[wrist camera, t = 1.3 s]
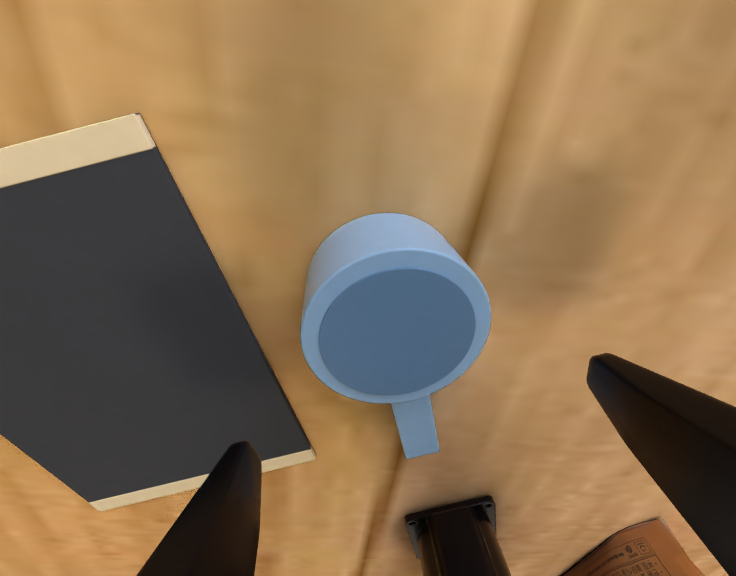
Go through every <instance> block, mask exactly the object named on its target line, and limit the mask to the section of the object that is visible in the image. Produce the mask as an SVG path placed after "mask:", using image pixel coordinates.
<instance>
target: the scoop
mask: <svg viewBox="0 0 736 576" xmlns="http://www.w3.org/2000/svg"><path fill="white" fill-rule="evenodd" d="M490 325H491V308H490V302H489V298H488V295H487V292H486V290H485V288H484V286H483V284H482V282H481V281H480V280H479V278H478V277H477V275H476V274H475V273H474V272H473V271H472V270H471V268H470V267H469V266H468V265H467V264H466V263H465V261H464V260H463V259H462V258H461V257H460V256H459V254H458V253H457V252H456V251H455V250H454V249H453V247H452V246H451V245H450V244H449V243H448V242H447V240H446V239H445V238H444V237H443V236H442V235H441V234H440V233H439V232H438V231H437V230H436V229H435V228H433V227H432V226H431V225H429V224H428V223H426V222H424V221H422V220H420V219H417V218H415V217H412V216H409V215H404V214H399V213H377V214H371V215H366V216H363V217H360V218H357V219H354V220H352V221H350V222H348V223H346V224H344V225H343V226H341V227H339V228H338V229H336V230H335V231H334V232H333V233H331V234H330V235H329V236H328V237H327V238H326V239H325V240H324V241H323V242H322V244H321V245H320V246H319V248H318V249H317V251H316V252H315V254H314V256H313V258H312V260H311V262H310V265H309V268H308V272H307V278H306V286H305V294H304V302H303V311H302V319H301V327H300V341H301V347H302V351H303V354H304V357H305V360H306V361H307V363H308V365H309V367H310V369H311V370H312V371H313V373H314V374H315V375H316V377H317V378H318V379H319V380H320V381H321V382H322V383H324V384H325V385H326V386H328V387H329V388H330V389H332V390H334V391H335V392H337V393H339V394H341V395H343V396H346V397H348V398H351V399H355V400H358V401H363V402H368V403H379V404H387V403H391V406H392V410H393V414H394V417H395V421H396V424H397V428H398V432H399V435H400V439H401V442H402V446H403V450H404V453H405V457H406V459H410V458H414V457H418V456H423V455H427V454H431V453H435V452H439V451H440V449H439V444H438V438H437V432H436V427H435V421H434V416H433V410H432V405H431V399H430V394H432V393H434V392H436V391H438V390H440V389H442V388H444V387H446V386H447V385H449V384H450V383H452V382H453V381H455V380H456V379H457V378H459V377H460V376H461V375H462V374H463V373H464V372H465V371H466V370H467V369H468V368H469V367H470V366H471V365H472V364H473V363H474V361H475V360H476V359H477V357H478V356H479V354H480V353H481V351H482V349H483V347H484V345H485V343H486V340H487V337H488V335H489V330H490Z"/></svg>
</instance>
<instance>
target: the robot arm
mask: <svg viewBox="0 0 736 576" xmlns="http://www.w3.org/2000/svg"><path fill="white" fill-rule="evenodd" d="M587 384H588V386H589V388H590V390H591V391H592V393H593V394H594V396H595V398H596V399H597V401H598V402H599V404H600V405H601V407H602V408H603V410H604V411H605V413H606V415H607V416H608V418H609V419H610V421H611V422H612V424H613V425H614V427H615V428H616V430H617V432H618V433H619V435H620V436H621V438H622V439H623V441H624V442H625V443H626V445H627V446H628V447H629V449H630V450H631V451H632V453H633V454H634V455H635V457H636V458H637V459H638V460H639V462H640V463H641V464H642V466H643V467H644V468H645V469H646V471H647V472H648V473H649V474H650V476H651V477H652V478H653V479H654V481H655V482H656V483H657V485H658V486H659V487H660V488H661V490H662V491H663V492H664V493H665V495H666V496H667V497H668V499H669V500H670V501H671V502H672V504H673V505H674V506H675V507H676V509H677V510H678V511H679V512H680V514H681V515H682V516H683V518H684V519H685V520H686V521H687V523H688V524H689V525H690V526H691V528H692V529H693V530H694V531H695V533H696V534H697V535H698V537H699V538H700V539H701V540H702V542H703V543H704V544H705V545H706V547H707V548H708V549H709V551H710V552H711V553H712V554H713V556H714V557H715V558H716V559H717V561H718V562H719V563H720V564H721V566H722V567H723V568H724V570H725V571H726V572H727V573H728V575H729V576H736V407H734V406H732V405H730V404H727V403H725V402H723V401H720V400H718V399H716V398H713V397H711V396H709V395H706V394H704V393H702V392H699V391H697V390H695V389H692V388H690V387H688V386H685V385H683V384H681V383H678V382H676V381H674V380H671V379H669V378H667V377H664V376H662V375H660V374H657V373H655V372H653V371H650V370H648V369H646V368H643V367H641V366H639V365H636V364H634V363H632V362H629V361H627V360H625V359H622V358H620V357H618V356H615V355H613V354H610V353H604V354H600V355H596V356H593V357H591V359H590V361H589V367H588V373H587ZM261 476H262V463H261V459H260V457H259V455H258V454H257V452H256V451H255V449H254V448H253V446H252V445H251V443H250V442H249V441H247V440H245V441H241V442H237V443H233V444H232V445H230V446H229V448H228V449H227V450H226V452H225V453H224V454H223V456H222V457H221V459H220V460H219V461H218V463H217V464H216V466H215V467H214V468H213V470H212V471H211V473H210V474H209V475H208V477H207V478H206V480H205V481H204V482H203V484H202V485H201V486H200V488H199V489H198V491H197V492H196V493H195V495H194V496H193V498H192V499H191V500H190V502H189V503H188V505H187V506H186V507H185V509H184V510H183V512H182V513H181V514H180V516H179V517H178V519H177V520H176V521H175V523H174V524H173V526H172V527H171V528H170V530H169V531H168V532H167V534H166V535H165V537H164V538H163V539H162V541H161V542H160V544H159V545H158V546H157V548H156V549H155V551H154V552H153V553H152V555H151V556H150V558H149V559H148V560H147V562H146V563H145V565H144V566H143V567H142V569H141V570H140V571H139V573H138V574H137V576H254V572H255V564H256V556H257V549H258V541H259V531H260V508H261ZM405 524H406V528H407V531H408V534H409V537H410V540H411V542H412V545H413V548H414V551H415V554H416V557H417V558H418V559H420V560H421V565H422V570H423V575H424V576H511V574H510V571H509V569H508V566H507V564H506V561H505V558H504V556H503V553H502V551H501V548H500V546H499V543H498V540H497V538H496V513H495V503H494V500H493V498H492V497H491V496H485V497H481V498H476V499H472V500H468V501H464V502H459V503H455V504H451V505H447V506H442V507H438V508H434V509H430V510H425V511H421V512H417V513H413V514H409V515H407V516H405Z"/></svg>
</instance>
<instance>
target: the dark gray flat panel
mask: <svg viewBox="0 0 736 576" xmlns="http://www.w3.org/2000/svg"><path fill="white" fill-rule="evenodd" d="M0 434H1V435H2V436H4V437H5V438H6V439H7V440H9V441H10V442H11V443H13V444H14V445H15V446H16V447H18V448H19V449H20V450H22V451H23V452H24V453H26V454H27V455H28V456H29V457H31V458H32V459H33V460H35V461H36V462H37V463H39V464H40V465H41V466H42V467H44V468H45V469H46V470H48V471H49V472H50V473H52V474H53V475H54V476H55V477H57V478H58V479H59V480H61V481H62V482H63V483H65V484H66V485H67V486H68V487H70V488H71V489H72V490H74V491H75V492H76V493H78V494H79V495H80V496H81V497H83V498H84V499H85V500H87V501H88V502H89V504H90V505H92V506H93V507H94V508H96V509H97V510H98V511H104V510H108V509H113V508H117V507H121V506H125V505H129V504H133V503H138V502H142V501H146V500H150V499H154V498H158V497H163V496H167V495H171V494H175V493H179V492H184V491H188V490H192V489H196V488H200V486H201V485H202V484H203V482H204V481H205V480H206V478H207V477H208V475H209V474H210V473H211V471H212V470H213V468H214V467H215V466H216V464H217V463H218V461H219V460H220V459H221V457H222V456H223V454H224V453H225V452H226V450H227V449H228V448H229V446H230V445H232V444H233V443H237V442H241V441H245V440H247V441H249V442H250V443H251V445H252V446H253V448H254V449H255V451H256V452H257V454H258V455H259V457H260V459H261V463H262V473H263V472H267V471H271V470H275V469H279V468H284V467H288V466H292V465H296V464H300V463H304V462H309V461H313V460H316V454H315V452H314V450H313V448H312V446H311V444H310V443H309V441H308V439H307V437H306V435H305V433H304V431H303V429H302V427H301V425H300V423H299V421H298V419H297V417H296V416H295V414H294V412H293V410H292V408H291V406H290V404H289V402H288V400H287V398H286V396H285V394H284V392H283V390H282V388H281V387H280V385H279V383H278V381H277V379H276V377H275V375H274V373H273V371H272V369H271V367H270V365H269V363H268V361H267V359H266V358H265V356H264V354H263V352H262V350H261V348H260V346H259V344H258V342H257V340H256V338H255V336H254V334H253V332H252V330H251V329H250V327H249V325H248V323H247V321H246V319H245V317H244V315H243V313H242V311H241V309H240V307H239V305H238V303H237V301H236V300H235V298H234V296H233V294H232V292H231V290H230V288H229V286H228V284H227V282H226V280H225V278H224V276H223V274H222V272H221V271H220V269H219V267H218V265H217V263H216V261H215V259H214V257H213V255H212V253H211V251H210V249H209V247H208V245H207V243H206V242H205V240H204V238H203V236H202V234H201V232H200V230H199V228H198V226H197V224H196V222H195V220H194V218H193V216H192V215H191V213H190V211H189V209H188V207H187V205H186V203H185V201H184V199H183V197H182V195H181V193H180V191H179V189H178V187H177V186H176V184H175V182H174V180H173V178H172V176H171V174H170V172H169V170H168V168H167V166H166V164H165V162H164V160H163V158H162V157H161V155H160V153H159V151H158V149H157V147H156V145H155V143H154V141H153V139H152V137H151V135H150V133H149V131H148V129H147V128H146V126H145V124H144V122H143V120H142V118H141V116H140V114H139V113H134V114H130V115H126V116H122V117H118V118H114V119H111V120H107V121H103V122H99V123H95V124H91V125H88V126H84V127H80V128H76V129H72V130H68V131H65V132H61V133H57V134H53V135H49V136H45V137H42V138H38V139H34V140H30V141H26V142H23V143H19V144H15V145H11V146H7V147H3V148H0Z"/></svg>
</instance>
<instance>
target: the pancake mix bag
mask: <svg viewBox="0 0 736 576" xmlns="http://www.w3.org/2000/svg"><path fill="white" fill-rule="evenodd" d="M563 576H705V575H704V574H703V573H702V572H701V571H700V570H699V569H698V568H697V567H696V566H695V565H694V563H693V562H692V561H691V560H690V559H689V557H688V556H687V554H686V553H685V551H684V550H683V548H682V547H681V545H680V544H679V542H678V541H677V539H676V538H675V536H674V535H673V533H672V532H671V530H670V528H669V527H668V525H667V524H666V522H665V521H664V519H658V520H653V521H648V522H644V523H641V524H637V525H634V526H631V527H628V528H626V529H624V530H622V531H620V532H618V533H616V534H614V535H612V536H611V537H610V538H609V539H607V540H606V541H605V542H604V543H603V544H602V545H600V546H599V547H598V548H597V549H595V550H594V551H593V552H592V553H590V554H589V555H588V556H587V557H585V558H584V559H583V560H582V561H581V562H579V563H578V564H577V565H576V566H575V567H573V568H572V569H571V570H570V571H568V572H567V573H566V574H564V575H563Z"/></svg>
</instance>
